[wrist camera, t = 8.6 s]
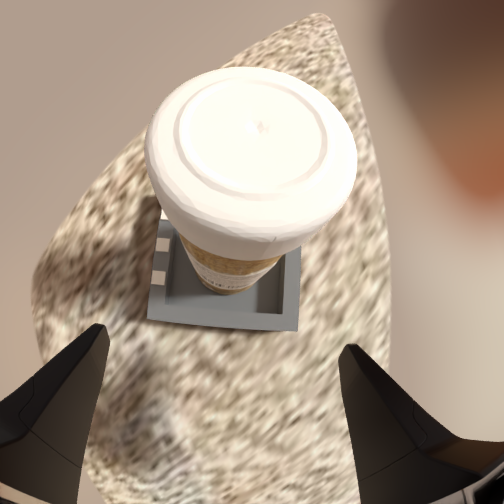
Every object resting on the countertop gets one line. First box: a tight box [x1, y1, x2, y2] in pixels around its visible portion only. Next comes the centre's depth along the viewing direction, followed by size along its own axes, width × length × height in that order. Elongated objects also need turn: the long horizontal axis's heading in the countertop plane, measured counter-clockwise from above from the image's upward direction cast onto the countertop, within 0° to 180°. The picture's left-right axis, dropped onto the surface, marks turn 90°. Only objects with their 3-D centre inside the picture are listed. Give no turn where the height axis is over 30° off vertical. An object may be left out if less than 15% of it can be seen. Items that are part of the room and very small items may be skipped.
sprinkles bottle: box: [144, 67, 357, 295], centre depth 11 cm, size 5×5×13 cm
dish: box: [147, 208, 301, 331], centre depth 18 cm, size 9×9×2 cm
